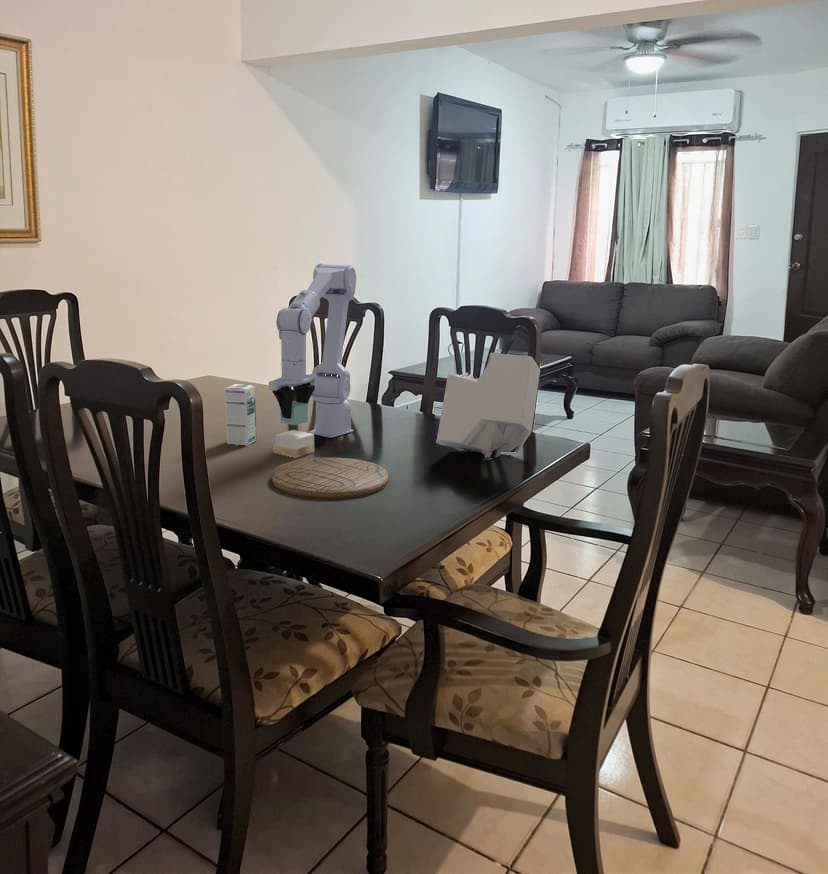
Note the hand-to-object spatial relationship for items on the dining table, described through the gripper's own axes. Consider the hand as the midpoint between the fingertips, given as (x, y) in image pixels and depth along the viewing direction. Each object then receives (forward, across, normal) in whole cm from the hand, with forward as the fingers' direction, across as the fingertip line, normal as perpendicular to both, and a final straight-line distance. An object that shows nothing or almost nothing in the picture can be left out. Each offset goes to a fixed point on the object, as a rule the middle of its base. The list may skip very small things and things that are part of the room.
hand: (293, 416), depth 187 cm
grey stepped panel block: (+9, +28, -37) cm, 47 cm away
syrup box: (+9, -2, +16) cm, 19 cm away
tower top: (+7, 0, 0) cm, 7 cm away
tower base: (+10, 0, 0) cm, 10 cm away
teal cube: (+2, 0, 0) cm, 2 cm away
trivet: (+10, -11, -21) cm, 26 cm away
